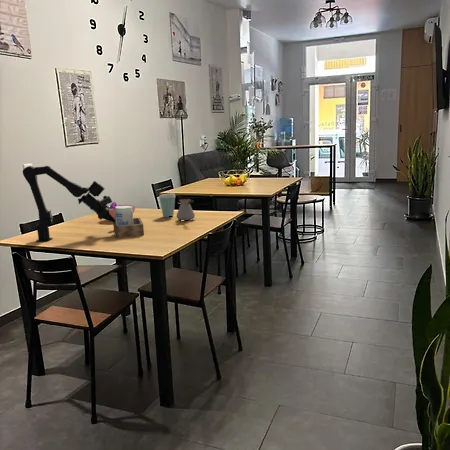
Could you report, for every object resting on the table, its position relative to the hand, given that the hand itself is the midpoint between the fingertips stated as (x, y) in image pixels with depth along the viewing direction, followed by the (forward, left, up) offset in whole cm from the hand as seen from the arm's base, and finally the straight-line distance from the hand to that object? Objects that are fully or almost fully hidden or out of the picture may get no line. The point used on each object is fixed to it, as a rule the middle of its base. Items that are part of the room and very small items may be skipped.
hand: (114, 221), depth 247 cm
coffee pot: (+28, -37, -7) cm, 47 cm away
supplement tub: (+1, -5, -7) cm, 9 cm away
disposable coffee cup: (+46, -22, -7) cm, 52 cm away
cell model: (+40, +8, -7) cm, 42 cm away
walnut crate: (+2, -6, -7) cm, 10 cm away
